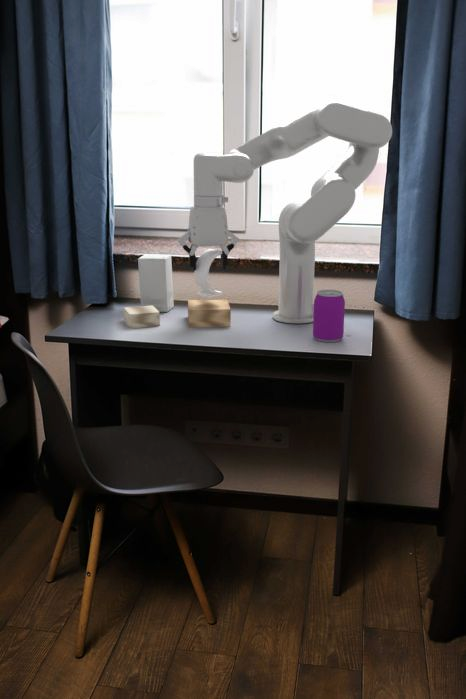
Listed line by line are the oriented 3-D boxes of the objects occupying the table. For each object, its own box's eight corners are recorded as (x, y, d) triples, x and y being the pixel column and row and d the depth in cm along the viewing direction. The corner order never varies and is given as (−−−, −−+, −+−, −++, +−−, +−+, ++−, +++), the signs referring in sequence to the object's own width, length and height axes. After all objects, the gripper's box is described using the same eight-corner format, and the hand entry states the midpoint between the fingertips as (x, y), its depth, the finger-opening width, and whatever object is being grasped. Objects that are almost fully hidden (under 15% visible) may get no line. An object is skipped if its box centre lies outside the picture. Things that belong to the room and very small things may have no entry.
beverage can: (341, 334, 205) (343, 289, 202) (344, 343, 198) (347, 296, 194) (311, 334, 206) (313, 288, 202) (313, 343, 198) (315, 295, 195)
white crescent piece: (222, 295, 216) (222, 250, 212) (206, 298, 212) (205, 253, 208) (210, 292, 219) (210, 248, 215) (194, 295, 215) (193, 251, 211)
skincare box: (174, 307, 232) (173, 254, 227) (167, 313, 226) (166, 258, 221) (146, 305, 234) (145, 253, 229) (139, 311, 228) (137, 257, 223)
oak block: (227, 317, 223) (227, 299, 222) (230, 327, 213) (230, 309, 211) (188, 317, 222) (187, 300, 221) (189, 328, 212) (188, 309, 210)
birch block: (153, 319, 220) (152, 305, 219) (159, 326, 213) (159, 312, 212) (124, 321, 218) (123, 307, 217) (130, 329, 211) (129, 314, 210)
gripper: (237, 199, 213) (237, 265, 219) (172, 201, 210) (173, 267, 215) (244, 203, 206) (243, 270, 212) (177, 204, 203) (178, 273, 208)
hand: (208, 268), depth 213 cm, fingers closed on white crescent piece, 7 cm apart
